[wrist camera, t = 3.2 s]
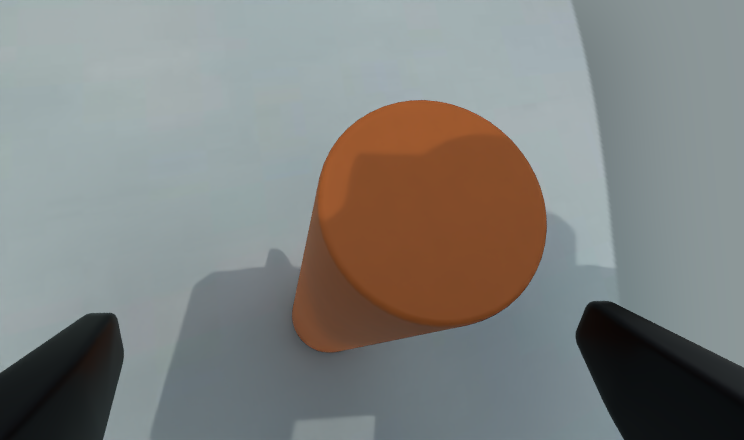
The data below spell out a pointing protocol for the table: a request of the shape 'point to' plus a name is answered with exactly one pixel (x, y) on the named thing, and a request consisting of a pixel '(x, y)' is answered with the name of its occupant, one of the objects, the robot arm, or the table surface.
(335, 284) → the orange cylindrical rod
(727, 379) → the robot arm
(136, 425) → the table surface
